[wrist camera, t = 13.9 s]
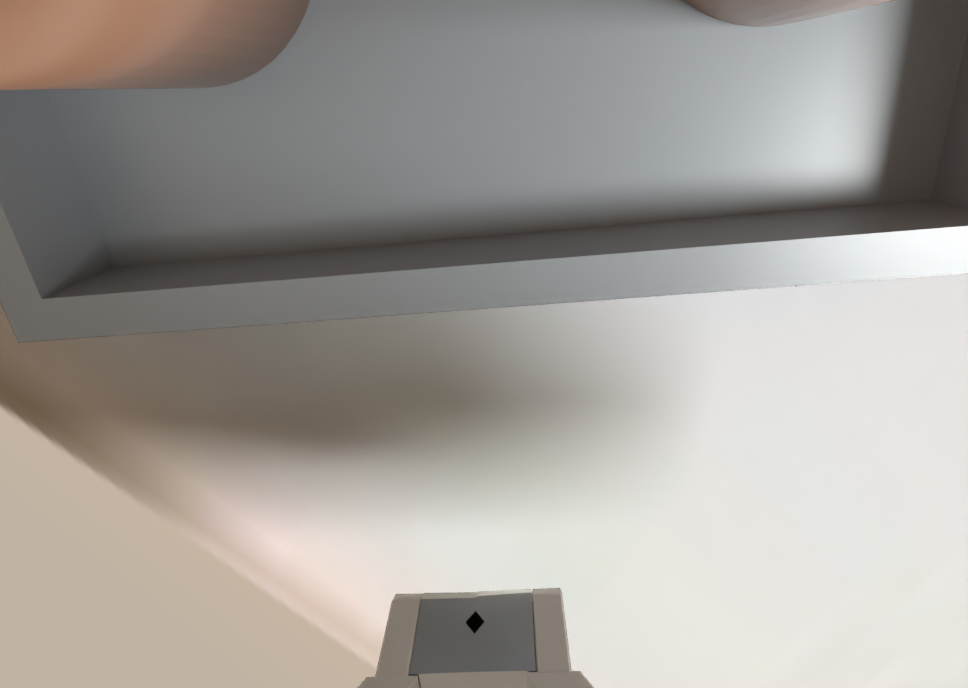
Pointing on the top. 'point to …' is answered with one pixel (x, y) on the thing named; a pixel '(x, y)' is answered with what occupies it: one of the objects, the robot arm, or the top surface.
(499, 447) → the top surface
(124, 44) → the peach rounded capsule
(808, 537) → the top surface
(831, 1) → the peach glossy rounded part
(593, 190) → the tray
